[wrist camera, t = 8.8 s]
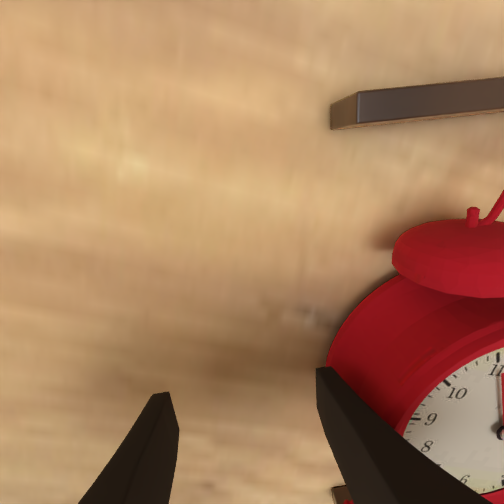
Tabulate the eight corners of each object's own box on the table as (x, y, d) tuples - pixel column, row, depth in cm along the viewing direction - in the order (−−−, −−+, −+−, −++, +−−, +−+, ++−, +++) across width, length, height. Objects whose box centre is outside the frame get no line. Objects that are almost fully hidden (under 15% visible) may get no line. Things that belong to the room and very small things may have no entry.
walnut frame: (331, 496, 16) (346, 541, 14) (329, 103, 9) (357, 90, 7) (543, 458, 17) (583, 496, 15) (693, 66, 10) (804, 46, 8)
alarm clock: (312, 537, 11) (742, 152, 3) (287, 387, 16) (426, 105, 8) (528, 536, 12) (1157, 280, 5) (441, 400, 18) (674, 174, 10)
